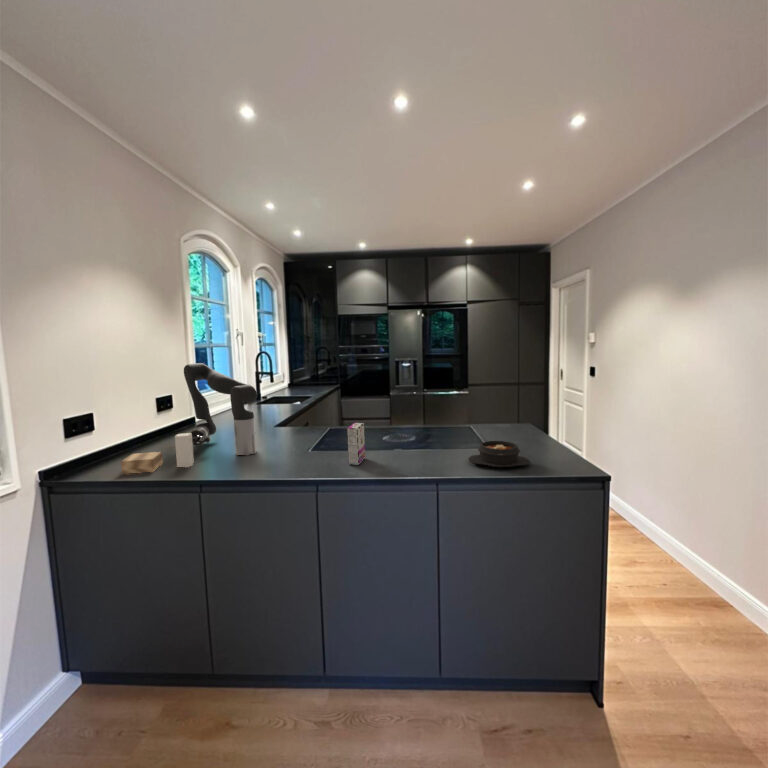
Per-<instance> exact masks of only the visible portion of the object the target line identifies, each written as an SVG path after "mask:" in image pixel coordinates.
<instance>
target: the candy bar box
mask: <svg viewBox="0 0 768 768" xmlns="http://www.w3.org/2000/svg"><path fill="white" fill-rule="evenodd" d="M346 432H347V434H346V435H347V449H348V450H347V451H348V455H347V456H348V464H349V463H360V462H361V461H362V459H363V458H364V457H365V458H366V444H365V443H366V442H365V440H366V439H365V423H364V422H363V423H362V422H354V423H352V424H351V425H350V426H349V427H347V428H346Z"/></svg>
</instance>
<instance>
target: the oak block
mask: <svg viewBox="0 0 768 768" xmlns="http://www.w3.org/2000/svg"><path fill="white" fill-rule="evenodd" d="M163 459H164V458H163V451H151V452H140V453H131V454H130V455H128V456H127V457H126V458H124V459H122V460H121V461H120V466H121V475H122V474H126V475H130V474H129V473H138V474H143V473H142V472H150V473H155V472H156V471H157V470H158V469H159V468H160V467H161V466H163V465H164V464H163V463H164V461H163ZM159 466H160V467H159ZM158 467H159V468H158ZM157 468H158V469H157ZM156 469H157V470H156ZM155 470H156V471H155ZM154 471H155V472H154Z"/></svg>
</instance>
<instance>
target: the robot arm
mask: <svg viewBox="0 0 768 768" xmlns="http://www.w3.org/2000/svg"><path fill="white" fill-rule="evenodd" d="M183 376H184V379H185V382H186V385H187V389H188V391H189V394H190V396H191V399H192V403H193V408H194V413H195V418H196V419H197V420H203V421H205V422H201V423H197V424H196V425H195V427H194V429H193V430H192V431H191V432H190V433H192V444H193V445H194V446H199V445H200V446H202V445H203V444H205V443H207V444H209V443H210V441H211V436H214V434H216V432H217V427H216V426H217V425H215V423H214V420H213V418H212V416H211V413H210V408H209V403H208V400H207V398H206V397H205V396H204V395H203V394H202V393H201V391H200V390H199V389H198V387H197V385H196V381H207V385H208V387H209V388H210V389H212V390H213V391H215V392H216V393H220V394H224V395H230V398H229V399H230V405H231V414H232V416H233V428H234V430H233V431H234V445H235V455H236V456H238V455H246V456H250V454H252V455H255V454H256V453H257V438H256V431H255V430H256V429H255V415H254V412H253V411H251V410H247V409H246V408H245V405H250V404H253V403H254V402H255V401H256V400H257V399H258V392H257V390H256V388H254V387H253V385H252V384H251V385H250V384H248V383H247V384H246V383H243V382H241V381H238V380H236V379H234V378H231V377H230V376H227V375H225V374H224V373H221V372H218V371H217V370H215V369H212V368H211V367H210V366H208V365H206V364H205V363H202V362H198V363H197V362H196V363H189V364H186V365H185V366H184V367H183Z"/></svg>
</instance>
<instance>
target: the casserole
mask: <svg viewBox="0 0 768 768" xmlns="http://www.w3.org/2000/svg"><path fill="white" fill-rule="evenodd" d="M477 450H478V451H479V454H475V455H473V454H472V455H470V456H469V457H468V459H467V460H468V461H469V462H470V463H472V464H476V465H483V466H487V465H488V466H487V467H490V466H494V467H508V468H513V467H518V466H527V465H529V464H531V461H530V459H528V458H527V457H525V456H522V455H521V456H520V455H519V453H520V452H521V451H520V450H521V449H519V447H518V444H516V443H514V442H510V441H504V440H489V441H483V442H481V443H480V445H479V447H478V448H477ZM494 467H493V468H494Z"/></svg>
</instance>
